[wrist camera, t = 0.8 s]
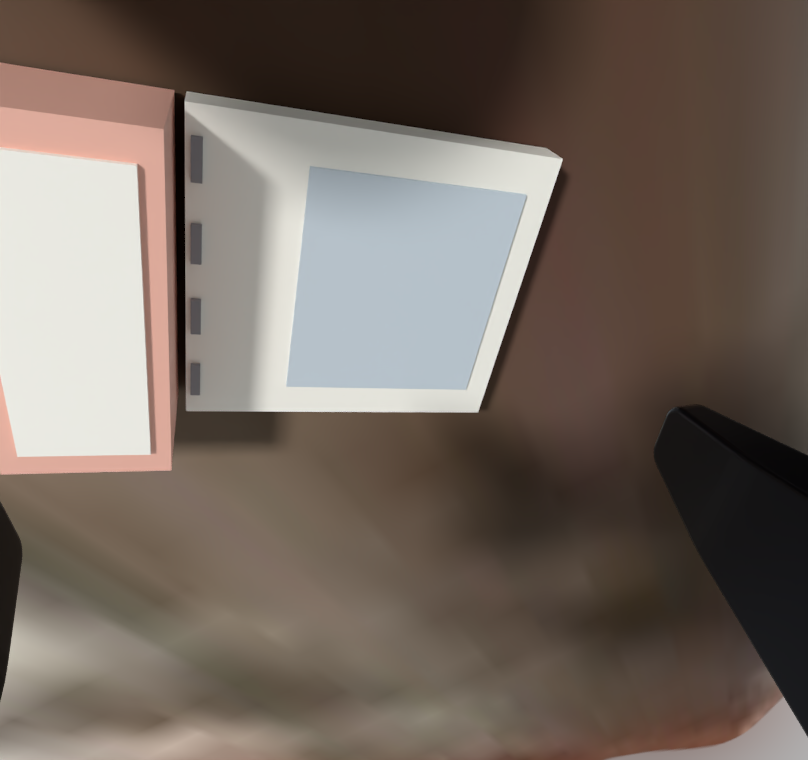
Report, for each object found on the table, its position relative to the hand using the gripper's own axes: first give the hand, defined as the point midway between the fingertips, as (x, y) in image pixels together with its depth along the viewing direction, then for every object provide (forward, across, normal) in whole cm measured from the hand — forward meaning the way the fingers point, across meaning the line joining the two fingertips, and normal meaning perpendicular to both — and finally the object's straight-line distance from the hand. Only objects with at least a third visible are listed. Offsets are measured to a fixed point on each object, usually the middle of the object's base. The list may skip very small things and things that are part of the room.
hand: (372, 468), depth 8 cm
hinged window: (+13, -2, +4) cm, 13 cm away
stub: (+13, +6, +2) cm, 14 cm away
